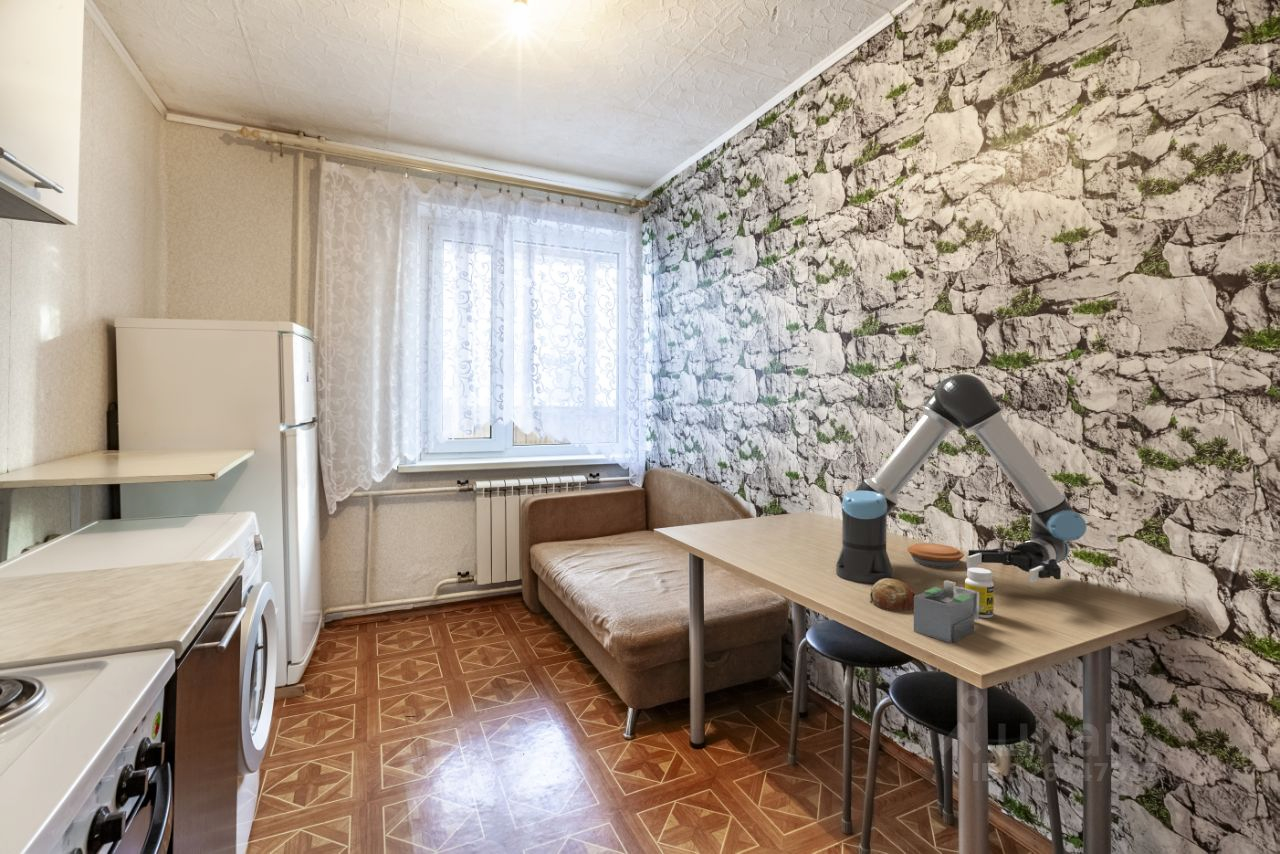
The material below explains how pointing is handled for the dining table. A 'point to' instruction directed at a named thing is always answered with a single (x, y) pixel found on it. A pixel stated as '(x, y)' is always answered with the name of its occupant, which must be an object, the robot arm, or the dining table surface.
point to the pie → (935, 554)
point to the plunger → (954, 591)
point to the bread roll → (892, 595)
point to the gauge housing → (943, 615)
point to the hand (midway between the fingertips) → (998, 569)
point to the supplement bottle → (982, 589)
